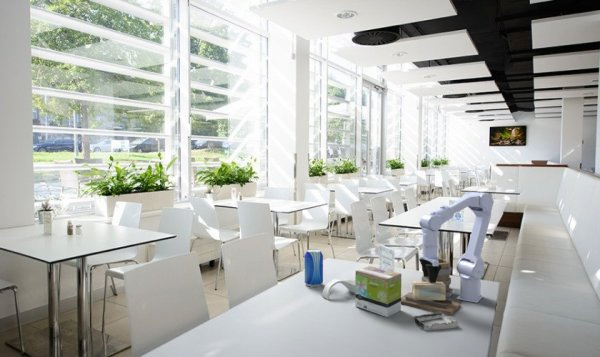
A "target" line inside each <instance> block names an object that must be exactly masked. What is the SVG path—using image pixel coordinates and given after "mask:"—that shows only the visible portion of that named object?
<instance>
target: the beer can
mask: <svg viewBox="0 0 600 357" xmlns="http://www.w3.org/2000/svg"><path fill="white" fill-rule="evenodd" d="M323 282H324V254H323V253H322V250H321V249H318V248H310V249H307V250H306V252H305V254H304V283H305V285H306V286H307V287H309V286H310V287H309V288H319V287H321V286H322V285H323ZM318 286H319V287H318Z"/></svg>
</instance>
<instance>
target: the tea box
mask: <svg viewBox="0 0 600 357" xmlns="http://www.w3.org/2000/svg"><path fill="white" fill-rule="evenodd" d="M354 280H355V294H354V295H355V296H354V298H355V299H354V300H355V304H354V305H355V308H360V309H363V310H366V311H368V312H372V313H374V314H377V315H380V316H383V317H386V318H388V317H391V316H392V315H394V314H396V313H398V312H400V311H401V310H402V304H401V298H402V273H401V272H396V271H391V270H388V269H384V268H380V267H376V266H371V265H368V266H366V267H363V268H360V269H357V270H355V279H354Z"/></svg>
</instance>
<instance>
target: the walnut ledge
mask: <svg viewBox="0 0 600 357" xmlns="http://www.w3.org/2000/svg"><path fill="white" fill-rule="evenodd" d="M401 305H403V306H408V307H410V308H412V307H413V308H416V309H421V310H425V311H430V312H432V313H435V312H436V313H437V312H442V313H443V314H444V315H445V316H446V315H447V316H452V315H453V314H454V313H455V312H456V311H457V310H458V309H460V307H461V302H458V301H457V302H456V301H453V299H450V298H446V299H445V300H414V298H413V297H412V292H408V293H406V294H405V295H403V296H401Z"/></svg>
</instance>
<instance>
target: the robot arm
mask: <svg viewBox="0 0 600 357" xmlns="http://www.w3.org/2000/svg"><path fill="white" fill-rule="evenodd" d="M494 203H495V202H494V199H493V197H492V195H491V194H490V193H488V192H487V193H486V192H485V193H484V192H475V191H474V192H473V191H468V192H466V193H463V195H462V197H460V198H459V199H457V200H456V201H454V202H453V203H452V204H450V205H449V206H448V205H440V206H439V208H438V209H435V210H434V211H431V212H430V213H429V214H427V213H426V214H424V215H422V216H421V218H420V220H419V222H418V223H419V226H420V228H421V232H422V252H421V255H419V257H418V261H419V262H420V265H421V271H422V270H423V271H422V273H423V274H424V277H429V281H430V283H436V280H437V276H438V273H439V271H440V269H441V268H442V266H441V265H439V261H438V256H439V230H440V229H441V228H442V225H443V224H445V223H446V222H448V221H450V220H451V219H453V218H454V216H455V215H454V214H457V213H458V212H460V211H462V210H464V209H466V208H468V209H470V210H471V211H472V212H473V213H474V215H475V219H474V223H473V225H472V229H471V231H472V232H471V234H470V237H469V241H468V245H467V248H466V252H465V253H462V254H461V255H460V258H459V260H458V262H457V263H456V267H455V268H456V271H457V273H459V274H458V275H459V276H460V284H459V287H460V288H459V289H460V290H459V291H460V292H459V295H458V296H456V299H457V300H461V301H466V302H469V303H470V302H471V303H476V304H477V303H479V301H481V299H482V298H483V297H484V295H483V294H482V295H481V291H482V290H481V289H482V288H481V286H482V284H481V283H482V282H481V278H483V276H484V274H485V263H486V262H485V261H484V260H483V258H482V256H481V255H482V251H483V248H484V244H485V240H486V237H487V232H488V229H489V225H490V222H491V217H492V210H493V206H494ZM423 274H422V275H423Z"/></svg>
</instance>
